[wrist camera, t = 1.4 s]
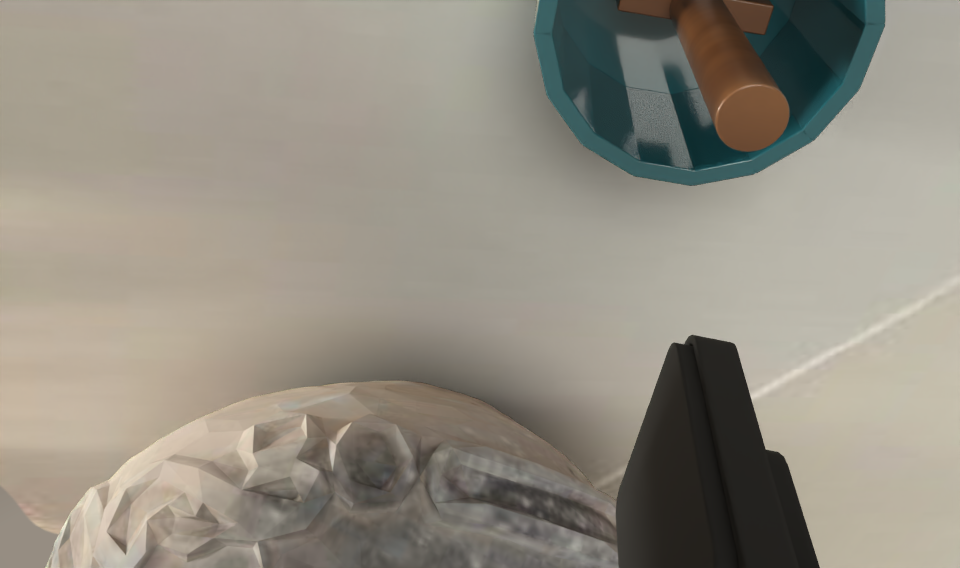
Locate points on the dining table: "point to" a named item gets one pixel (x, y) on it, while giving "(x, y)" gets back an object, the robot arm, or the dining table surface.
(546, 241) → the dining table surface
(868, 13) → the pot
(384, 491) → the clay pot
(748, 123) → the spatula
